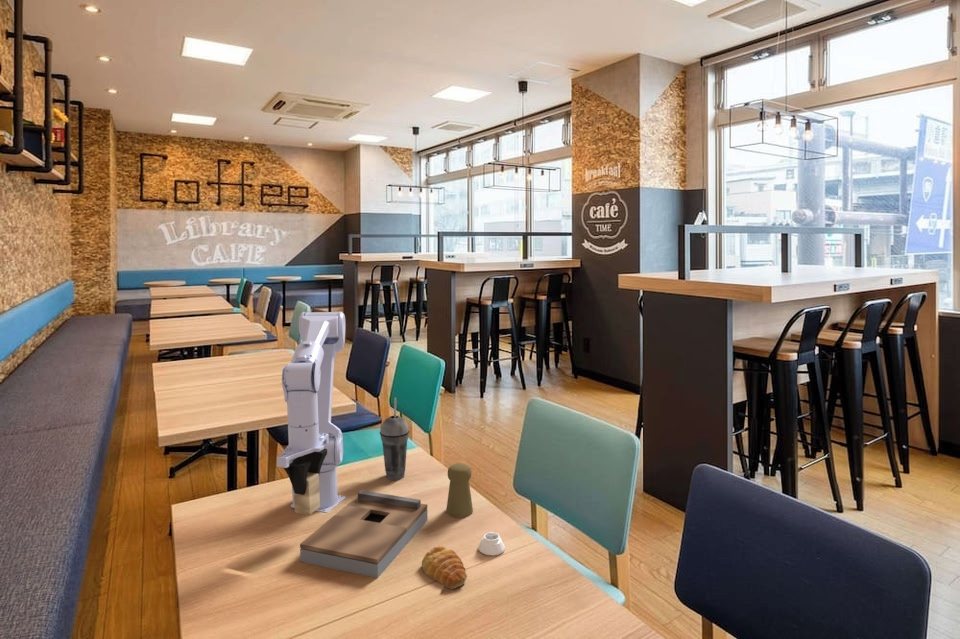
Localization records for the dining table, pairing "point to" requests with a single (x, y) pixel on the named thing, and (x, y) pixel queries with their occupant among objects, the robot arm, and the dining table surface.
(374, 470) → the dining table surface
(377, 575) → the shallow grey box
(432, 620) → the dining table surface
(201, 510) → the dining table surface
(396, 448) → the beverage cup
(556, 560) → the dining table surface
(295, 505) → the block
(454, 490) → the olive pawn figure
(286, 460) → the robot arm
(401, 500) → the lid
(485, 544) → the white upturned bowl
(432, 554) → the pastry
